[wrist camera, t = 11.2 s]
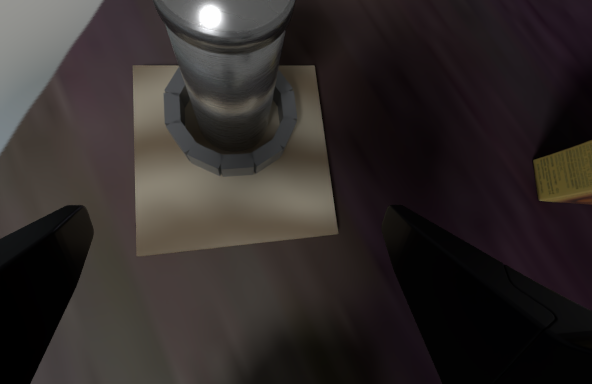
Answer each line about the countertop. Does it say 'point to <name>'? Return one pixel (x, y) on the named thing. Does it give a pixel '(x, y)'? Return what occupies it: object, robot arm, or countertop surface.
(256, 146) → the duct board
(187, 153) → the collar
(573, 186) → the candy box
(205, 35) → the metal canister
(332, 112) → the countertop surface
